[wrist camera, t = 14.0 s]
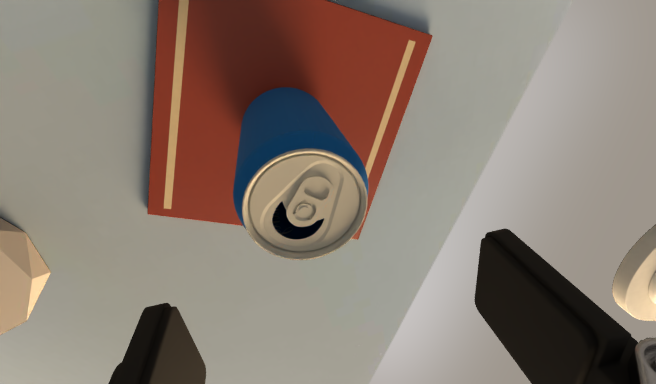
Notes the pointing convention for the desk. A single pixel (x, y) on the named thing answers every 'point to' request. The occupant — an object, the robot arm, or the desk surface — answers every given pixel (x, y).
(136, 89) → the desk surface
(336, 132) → the beverage can
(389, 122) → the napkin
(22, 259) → the table lamp
